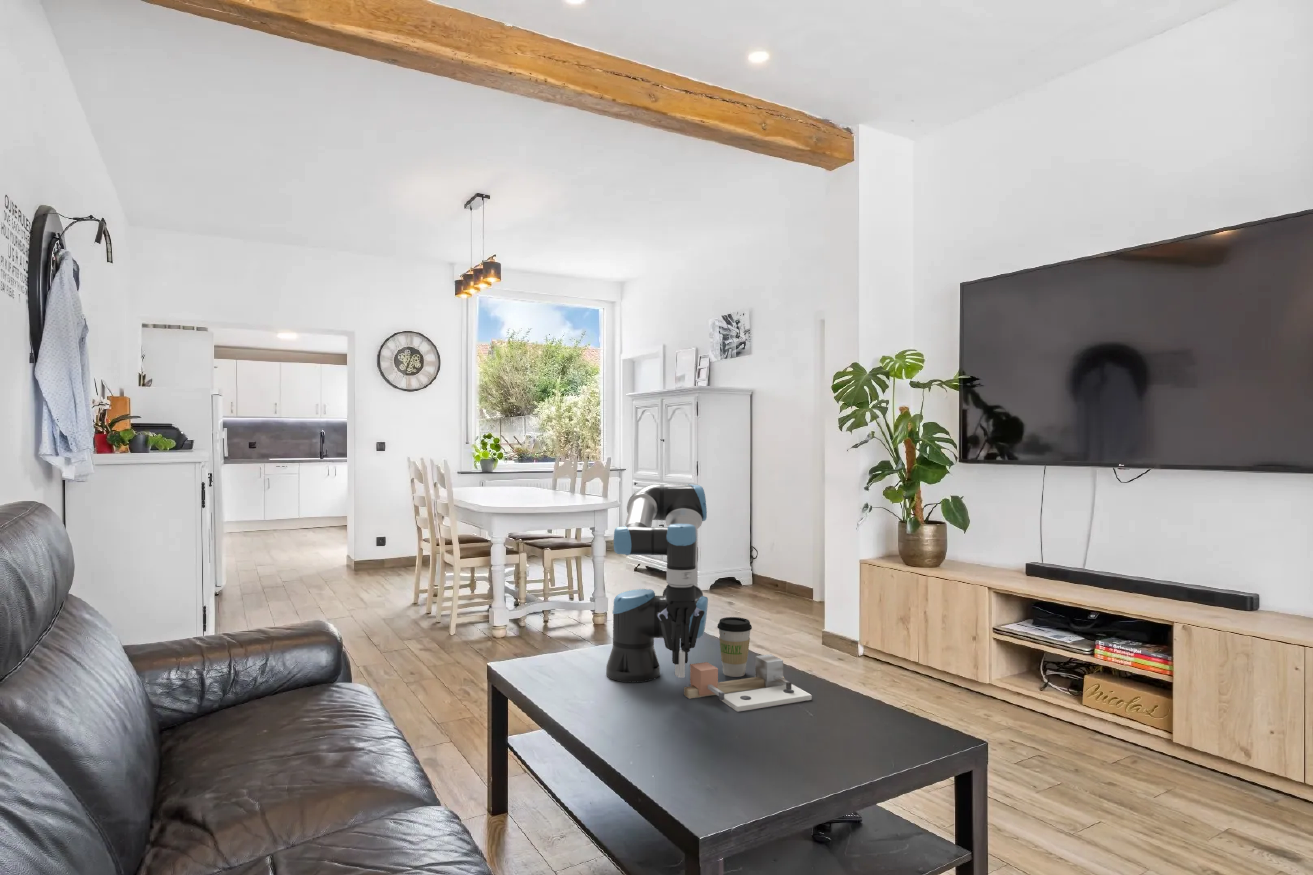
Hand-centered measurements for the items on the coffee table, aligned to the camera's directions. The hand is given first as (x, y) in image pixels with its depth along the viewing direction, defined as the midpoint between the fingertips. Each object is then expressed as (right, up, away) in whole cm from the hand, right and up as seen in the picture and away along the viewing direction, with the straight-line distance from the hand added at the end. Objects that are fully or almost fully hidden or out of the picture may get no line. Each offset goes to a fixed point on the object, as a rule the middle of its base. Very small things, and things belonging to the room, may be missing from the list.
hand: (679, 675), depth 192 cm
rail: (+17, -6, +4) cm, 18 cm away
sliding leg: (+8, -5, 0) cm, 9 cm away
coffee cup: (+16, -6, +21) cm, 27 cm away
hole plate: (+22, -6, 0) cm, 23 cm away
